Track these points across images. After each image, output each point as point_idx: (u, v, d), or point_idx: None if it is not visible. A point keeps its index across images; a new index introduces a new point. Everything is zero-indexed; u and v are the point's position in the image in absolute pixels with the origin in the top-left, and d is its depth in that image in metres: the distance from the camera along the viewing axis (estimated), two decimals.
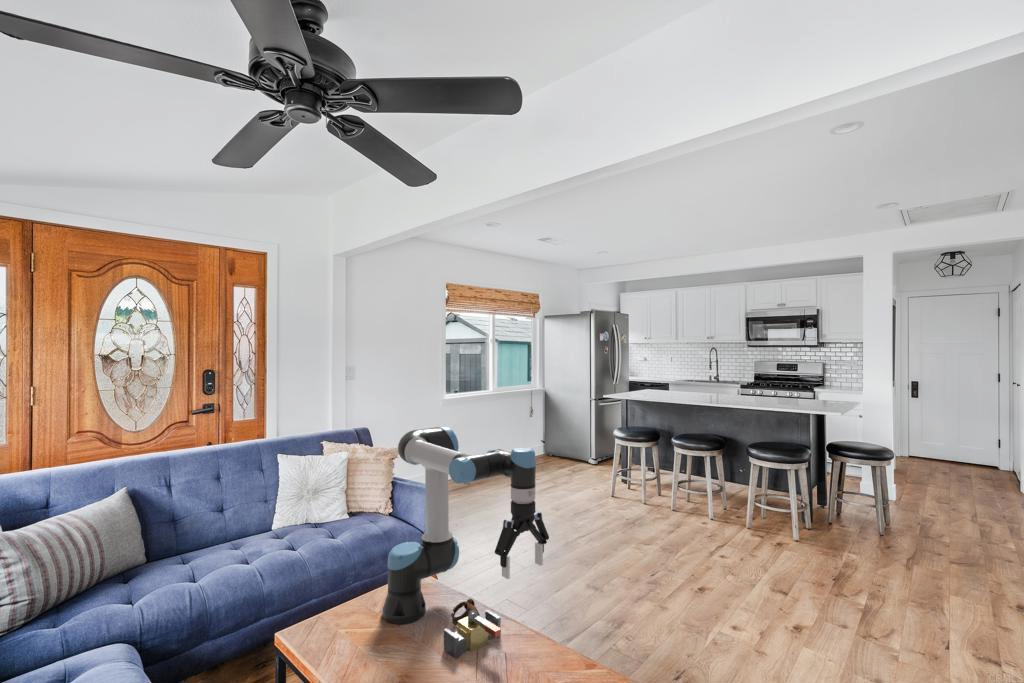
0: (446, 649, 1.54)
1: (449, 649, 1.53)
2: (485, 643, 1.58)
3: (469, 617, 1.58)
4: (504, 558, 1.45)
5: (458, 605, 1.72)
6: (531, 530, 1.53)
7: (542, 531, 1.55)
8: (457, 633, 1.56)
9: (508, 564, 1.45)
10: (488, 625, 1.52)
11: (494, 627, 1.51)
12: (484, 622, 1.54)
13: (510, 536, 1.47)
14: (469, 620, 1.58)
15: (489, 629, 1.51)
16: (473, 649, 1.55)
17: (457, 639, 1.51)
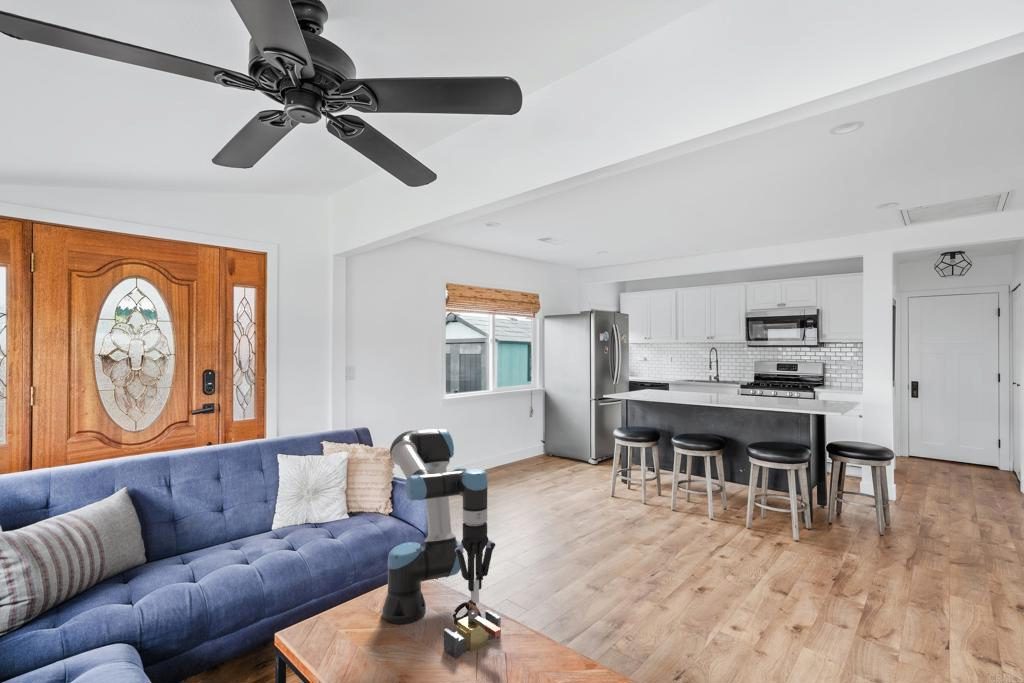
0: (446, 649, 1.54)
1: (449, 649, 1.53)
2: (485, 643, 1.58)
3: (469, 617, 1.58)
4: (471, 582, 1.49)
5: (460, 606, 1.71)
6: (477, 556, 1.50)
7: (485, 563, 1.51)
8: (457, 633, 1.56)
9: (475, 588, 1.48)
10: (488, 625, 1.52)
11: (494, 627, 1.51)
12: (484, 622, 1.54)
13: (469, 560, 1.49)
14: (469, 620, 1.58)
15: (489, 629, 1.51)
16: (473, 649, 1.55)
17: (457, 639, 1.51)
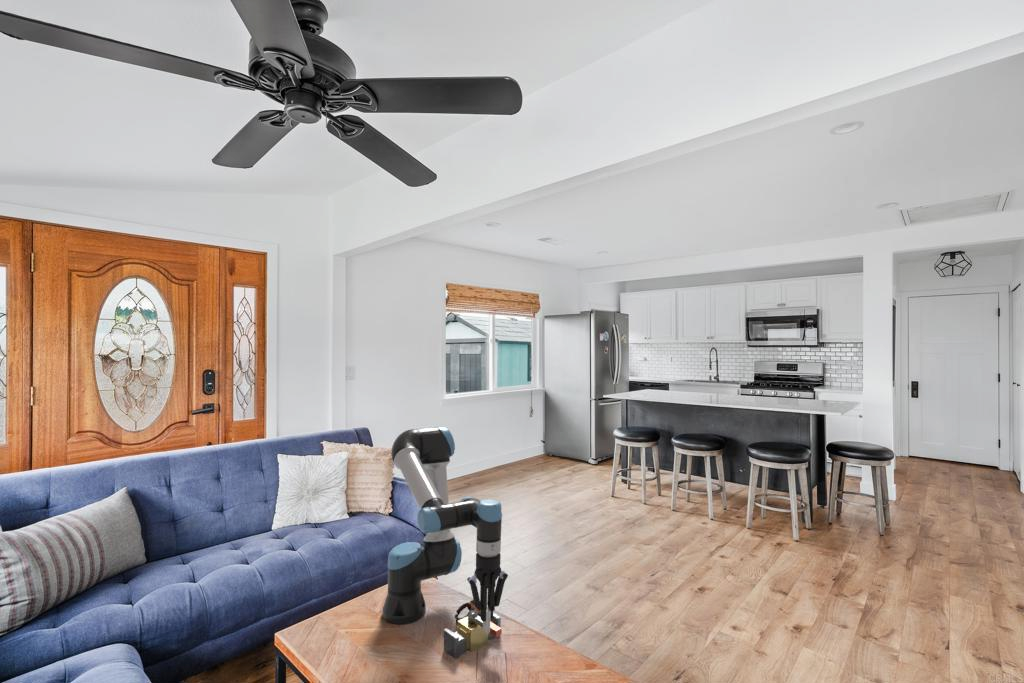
0: (446, 649, 1.54)
1: (449, 649, 1.53)
2: (485, 643, 1.58)
3: (469, 617, 1.58)
4: (483, 612, 1.50)
5: (461, 606, 1.71)
6: (489, 587, 1.52)
7: (497, 594, 1.52)
8: (457, 633, 1.56)
9: (487, 619, 1.50)
10: None
11: (494, 627, 1.51)
12: None
13: (481, 591, 1.51)
14: (469, 620, 1.58)
15: (490, 629, 1.51)
16: (473, 649, 1.55)
17: (457, 639, 1.51)
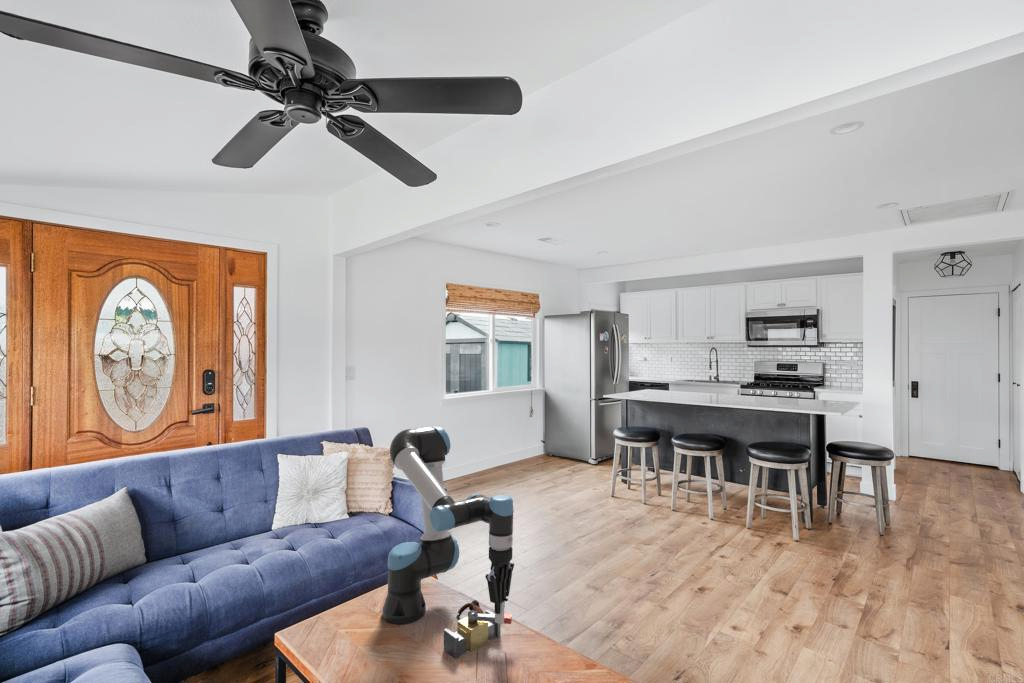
0: (446, 649, 1.54)
1: (449, 649, 1.53)
2: (485, 643, 1.58)
3: (472, 618, 1.58)
4: (499, 605, 1.55)
5: (463, 607, 1.71)
6: None
7: (507, 584, 1.59)
8: (457, 633, 1.56)
9: (502, 610, 1.55)
10: None
11: (505, 616, 1.58)
12: (491, 616, 1.58)
13: (496, 584, 1.55)
14: (472, 621, 1.58)
15: None
16: (473, 649, 1.55)
17: (457, 639, 1.51)
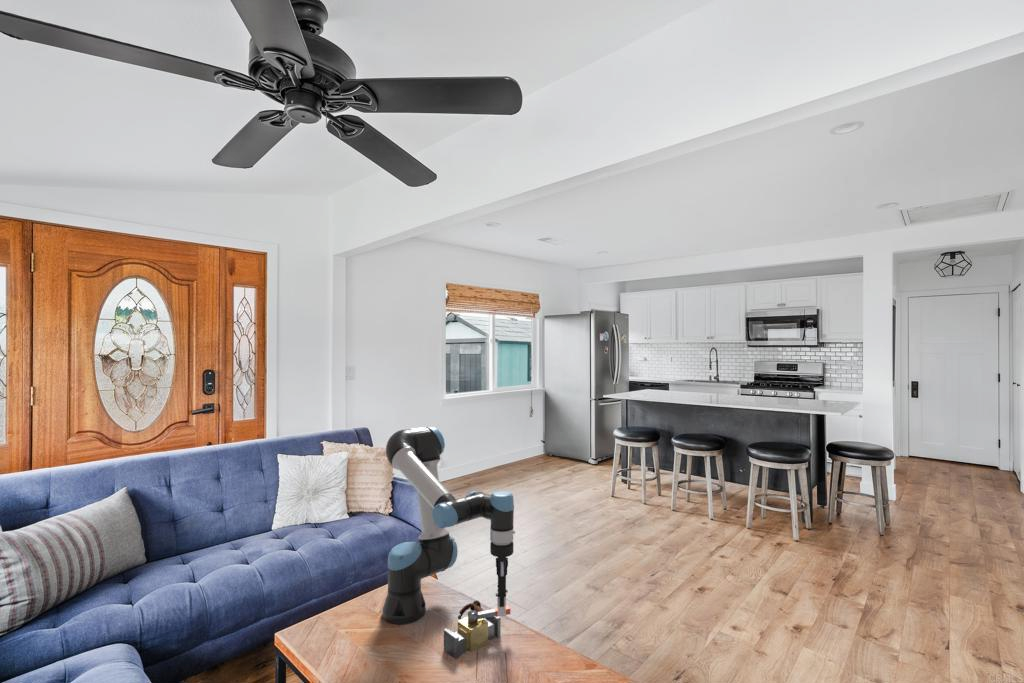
0: (446, 649, 1.54)
1: (449, 649, 1.53)
2: (485, 643, 1.58)
3: (474, 617, 1.58)
4: (503, 598, 1.59)
5: (465, 607, 1.70)
6: None
7: None
8: (457, 633, 1.56)
9: (505, 602, 1.60)
10: None
11: None
12: (491, 611, 1.61)
13: None
14: (474, 620, 1.58)
15: None
16: (473, 649, 1.55)
17: (457, 639, 1.51)
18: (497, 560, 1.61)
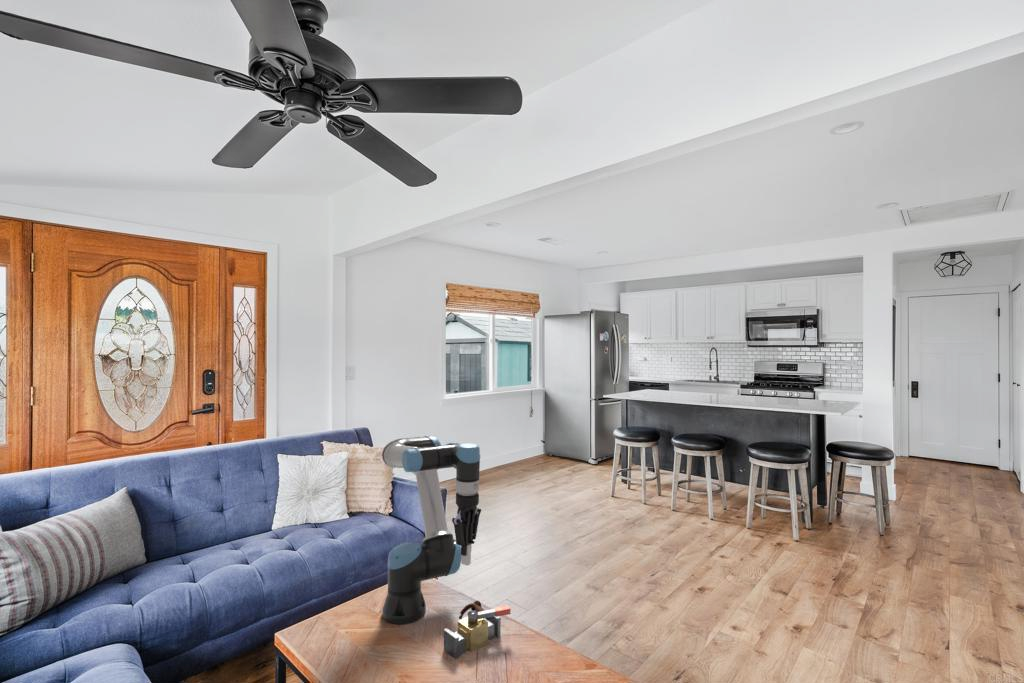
0: (446, 649, 1.54)
1: (449, 649, 1.53)
2: (485, 643, 1.58)
3: (474, 617, 1.58)
4: (465, 547, 1.60)
5: (465, 607, 1.70)
6: None
7: (473, 528, 1.64)
8: (457, 633, 1.56)
9: (468, 552, 1.61)
10: (498, 609, 1.62)
11: (503, 607, 1.63)
12: (491, 611, 1.61)
13: (462, 528, 1.60)
14: (474, 620, 1.58)
15: (502, 611, 1.62)
16: (473, 649, 1.55)
17: (457, 639, 1.51)
18: None
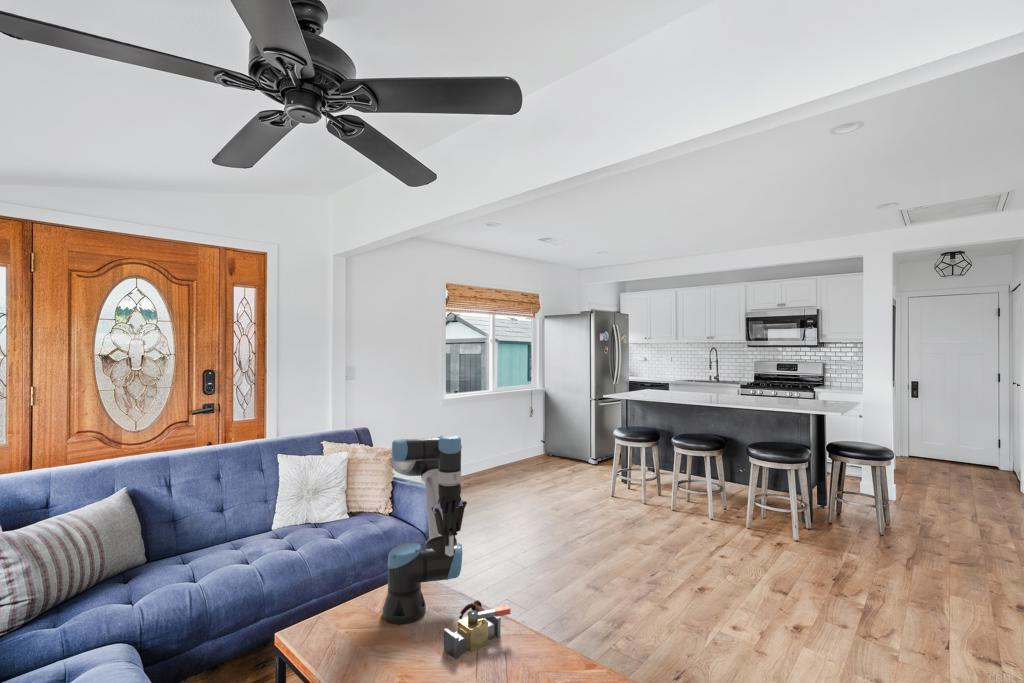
0: (446, 649, 1.54)
1: (449, 649, 1.53)
2: (485, 643, 1.58)
3: (474, 617, 1.58)
4: (446, 538, 1.63)
5: (466, 607, 1.70)
6: (451, 514, 1.65)
7: (458, 520, 1.66)
8: (457, 633, 1.56)
9: (450, 543, 1.63)
10: (498, 609, 1.62)
11: (503, 607, 1.63)
12: (491, 611, 1.61)
13: (444, 518, 1.63)
14: (474, 620, 1.58)
15: (502, 611, 1.62)
16: (473, 649, 1.55)
17: (457, 639, 1.51)
18: None
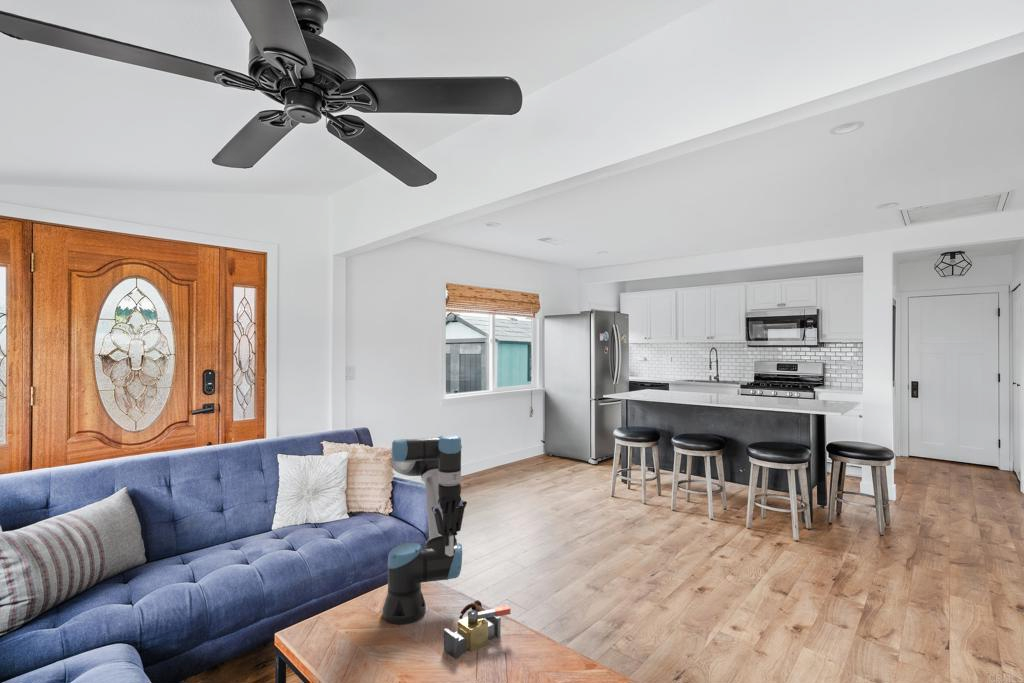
0: (446, 649, 1.54)
1: (449, 649, 1.53)
2: (485, 643, 1.58)
3: (474, 617, 1.58)
4: (446, 538, 1.63)
5: (466, 607, 1.70)
6: (451, 514, 1.65)
7: (458, 520, 1.66)
8: (457, 633, 1.56)
9: (450, 543, 1.63)
10: (498, 609, 1.62)
11: (503, 607, 1.63)
12: (491, 611, 1.61)
13: (444, 518, 1.63)
14: (474, 620, 1.58)
15: (502, 611, 1.62)
16: (473, 649, 1.55)
17: (457, 639, 1.51)
18: None
